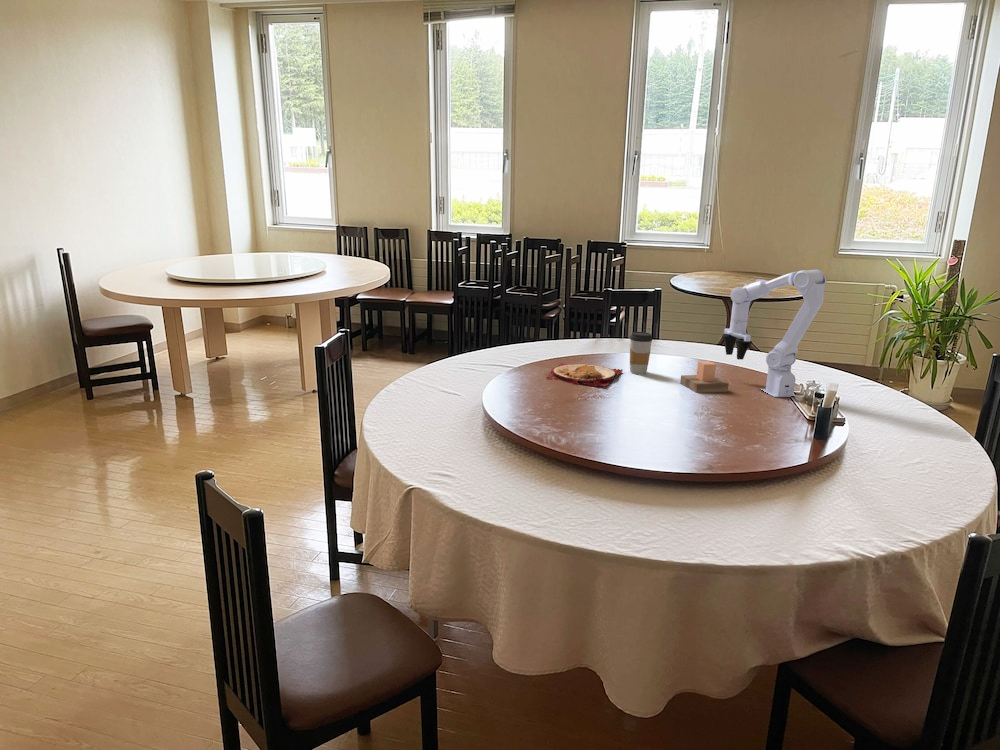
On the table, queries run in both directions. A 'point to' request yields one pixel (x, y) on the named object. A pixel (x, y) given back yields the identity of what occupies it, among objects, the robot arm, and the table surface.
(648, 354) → the coffee cup
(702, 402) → the table surface
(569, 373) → the plate with food
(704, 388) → the walnut stand
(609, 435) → the table surface
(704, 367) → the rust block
